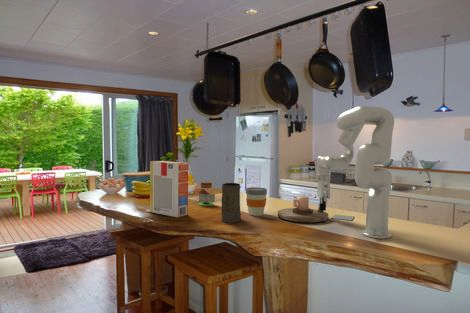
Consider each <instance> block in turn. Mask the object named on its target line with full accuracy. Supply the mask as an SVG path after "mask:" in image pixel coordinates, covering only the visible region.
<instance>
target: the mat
mask: <svg viewBox="0 0 470 313" xmlns="http://www.w3.org/2000/svg"><path fill="white" fill-rule="evenodd" d="M330 218H331V219H333V220H339V221H350V222H352V221H353V220H354V219H355V216H352V215H344V214H334V215H333V216H331V217H330Z"/></svg>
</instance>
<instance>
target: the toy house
mask: <svg viewBox="0 0 470 313" xmlns="http://www.w3.org/2000/svg"><path fill="white" fill-rule="evenodd" d="M212 184H213V182H211V181H201V182H200V188H201V189H199V191H198V193H197V195H198V203H197V205H198V206H200V207H211V206H214V205H215V201H216V199H215V198H216V197H215V196H216V195H215V193H209V192H207V191H206V190H205V189H212V187H213V185H212Z"/></svg>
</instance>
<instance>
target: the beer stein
mask: <svg viewBox="0 0 470 313" xmlns="http://www.w3.org/2000/svg"><path fill="white" fill-rule="evenodd" d="M241 187H242V186H241V184H240V183H238V182H237V183H236V182H225V183H222V184H221V191H222V192H221V217H220V218H221V219H220V221H222V222H223V223H226V224H228V223H229V224H232V223H239V222H240V221H242V215H241V214H242V213H241Z"/></svg>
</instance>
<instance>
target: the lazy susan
mask: <svg viewBox="0 0 470 313" xmlns="http://www.w3.org/2000/svg"><path fill="white" fill-rule="evenodd" d="M317 204H318V206H317V209H314V208H309V211H299V210H297V207H288V208H281V209H278V210H277V217H278V218H280V219H282V220H287V221H291V222H297V223H298V222H299V223H319V222H320V223H321V222H325V221H327V220H329V213H328V212H326V211H321V210H319V207H320V203H317Z"/></svg>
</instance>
